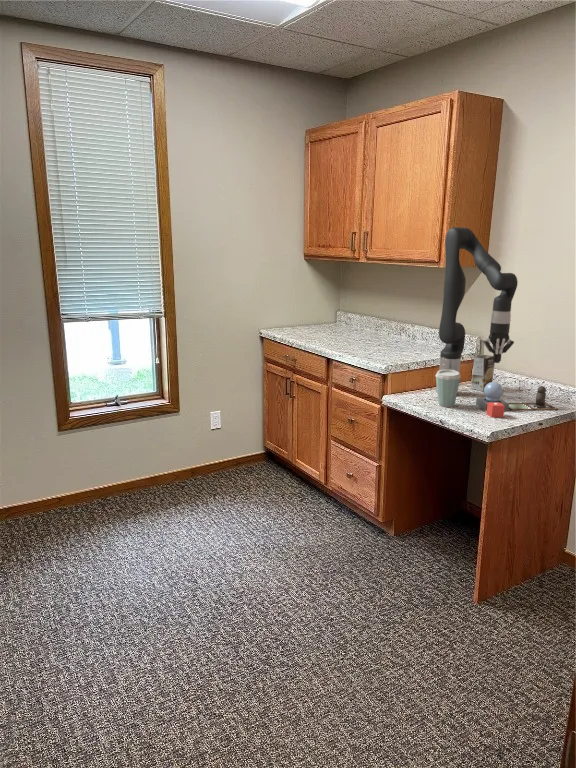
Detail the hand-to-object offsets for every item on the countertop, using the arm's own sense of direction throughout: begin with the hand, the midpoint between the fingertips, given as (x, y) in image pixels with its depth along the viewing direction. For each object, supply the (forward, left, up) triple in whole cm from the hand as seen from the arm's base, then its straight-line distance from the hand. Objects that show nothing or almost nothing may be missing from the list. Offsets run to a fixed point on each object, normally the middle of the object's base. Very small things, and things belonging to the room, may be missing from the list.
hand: (496, 362), depth 238 cm
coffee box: (+9, +32, -20) cm, 39 cm away
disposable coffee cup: (-19, +4, -20) cm, 28 cm away
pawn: (+21, 0, -20) cm, 29 cm away
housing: (0, 0, -20) cm, 20 cm away
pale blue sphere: (0, 0, -17) cm, 17 cm away
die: (-4, -12, -20) cm, 23 cm away
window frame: (+16, 0, -20) cm, 26 cm away
